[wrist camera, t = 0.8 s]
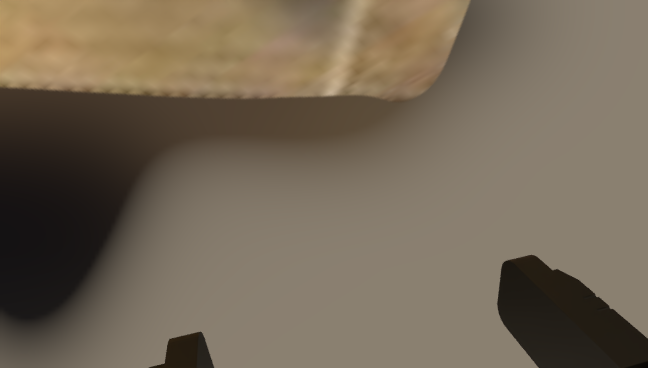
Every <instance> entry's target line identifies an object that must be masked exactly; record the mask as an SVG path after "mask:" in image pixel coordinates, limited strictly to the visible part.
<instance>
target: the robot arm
mask: <svg viewBox="0 0 648 368" xmlns="http://www.w3.org/2000/svg"><path fill="white" fill-rule="evenodd" d="M497 305H498V311H499V315H500V318H501V320H502V322H503V324H504V325H505V326H506V328H507V329H508V330H509V332H510V333H511V334H512V335H513V337H514V338H515V339H516V340H517V341H518V343H519V344H520V345H521V346H522V348H523V349H524V350H525V351H526V352H527V354H528V355H529V356H530V357H531V359H532V360H533V361H534V362H535V364H536V365H537V366H538V367H539V368H648V338H646V337H645V336H644V335H643V334H642V333H641V332H639V331H638V330H637V329H636V328H635V327H633V326H632V325H631V324H630V323H629V322H628V321H626V320H625V319H624V318H623V317H622V316H620V315H619V314H618V313H617V312H616V311H615V310H613V309H610V308H609V305H608V304H606V303H605V302H604V301H603V300H602V299H600V298H599V297H596V296H595V293H593V292H592V291H591V290H590V289H589V288H587V287H586V286H585V285H584V284H583V283H581V282H580V281H579V280H578V279H576V278H574V277H572V276H570V275H568V274H566V273H564V272H562V271H560V270H558V269H556V270H551V269H550V268H549V267H548V266H547V265H546V264H545V263H544V262H542V261H541V260H540V259H539V258H538V257H536V256H534V255H529V256H525V257H521V258H516V259H512V260H508V261H505V262H504V263H503V264H502V269H501V277H500V286H499V294H498V303H497ZM149 368H214V366H213V363H212V360H211V357H210V354H209V351H208V348H207V345H206V342H205V338H204V336H203V334H202V332H197V333H193V334H189V335H185V336H180V337H176V338H172V339H170V340H169V341H168V345H167V352H166V359H165V364H161V365H157V366H153V367H149Z"/></svg>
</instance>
